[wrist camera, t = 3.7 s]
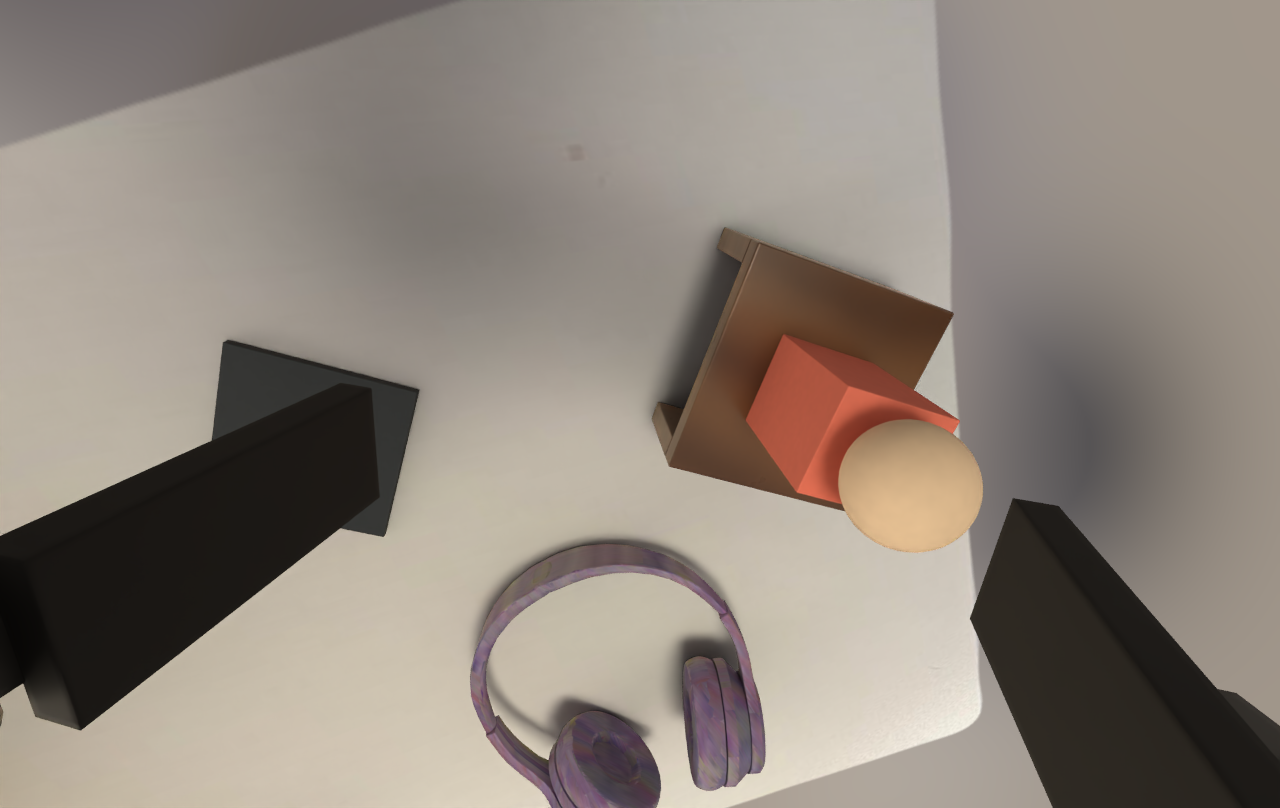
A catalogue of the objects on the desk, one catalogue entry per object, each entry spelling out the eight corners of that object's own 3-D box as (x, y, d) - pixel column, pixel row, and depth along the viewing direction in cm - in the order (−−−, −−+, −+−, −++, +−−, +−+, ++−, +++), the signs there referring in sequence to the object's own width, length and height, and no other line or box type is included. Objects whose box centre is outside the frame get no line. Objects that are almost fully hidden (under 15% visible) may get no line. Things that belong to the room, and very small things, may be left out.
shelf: (724, 226, 33) (758, 241, 27) (891, 288, 36) (955, 313, 30) (651, 418, 37) (668, 467, 31) (807, 461, 40) (848, 513, 34)
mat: (227, 339, 32) (222, 342, 32) (419, 389, 34) (417, 392, 34) (209, 496, 35) (204, 501, 35) (385, 532, 38) (383, 537, 37)
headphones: (783, 691, 46) (662, 480, 41) (820, 783, 38) (674, 535, 33) (577, 792, 48) (436, 599, 43) (571, 901, 40) (397, 679, 35)
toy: (782, 333, 29) (915, 438, 18) (873, 363, 30) (1047, 478, 20) (744, 420, 31) (846, 564, 20) (832, 444, 32) (972, 593, 21)
